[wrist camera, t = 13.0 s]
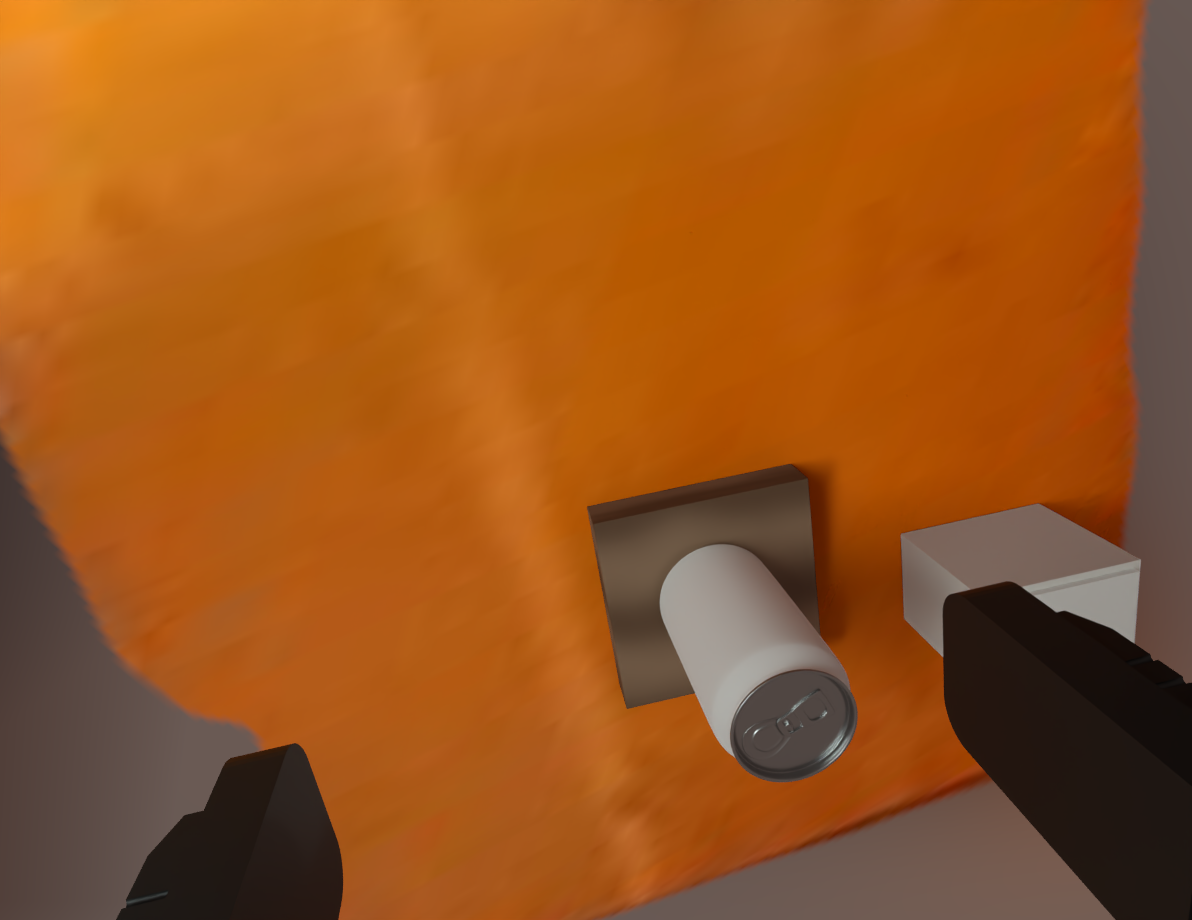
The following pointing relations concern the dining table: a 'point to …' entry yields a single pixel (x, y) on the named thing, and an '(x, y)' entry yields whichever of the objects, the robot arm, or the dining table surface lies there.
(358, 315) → the dining table surface
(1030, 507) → the white box
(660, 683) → the base
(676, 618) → the can
